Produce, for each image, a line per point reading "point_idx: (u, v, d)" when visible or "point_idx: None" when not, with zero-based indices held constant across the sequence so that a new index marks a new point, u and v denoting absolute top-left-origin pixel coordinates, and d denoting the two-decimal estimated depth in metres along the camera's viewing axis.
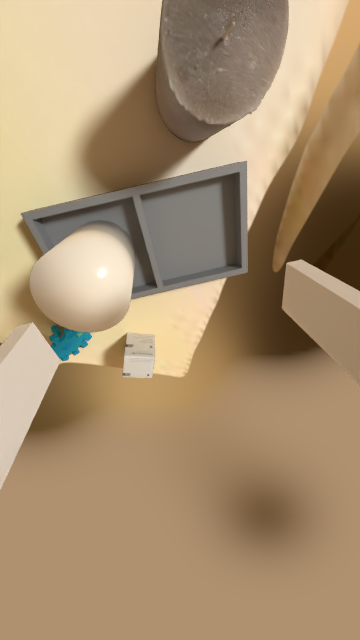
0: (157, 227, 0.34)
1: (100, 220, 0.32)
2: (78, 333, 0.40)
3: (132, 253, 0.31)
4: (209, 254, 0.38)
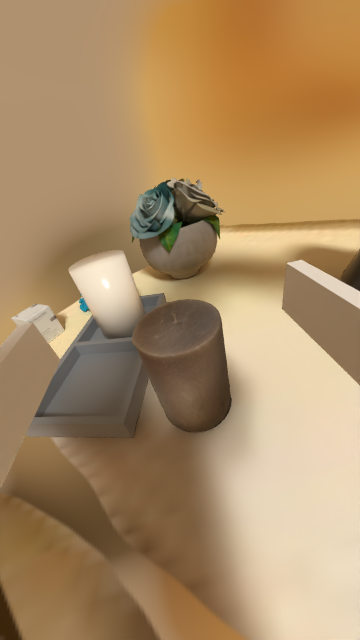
0: (120, 357, 0.39)
1: None
2: None
3: (110, 322, 0.40)
4: (69, 395, 0.34)
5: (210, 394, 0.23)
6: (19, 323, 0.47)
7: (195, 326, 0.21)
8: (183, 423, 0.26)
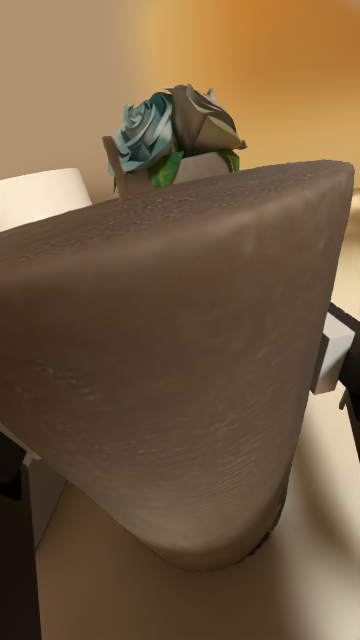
0: None
1: None
2: None
3: None
4: None
5: (259, 500, 0.06)
6: None
7: (207, 186, 0.04)
8: (159, 553, 0.08)
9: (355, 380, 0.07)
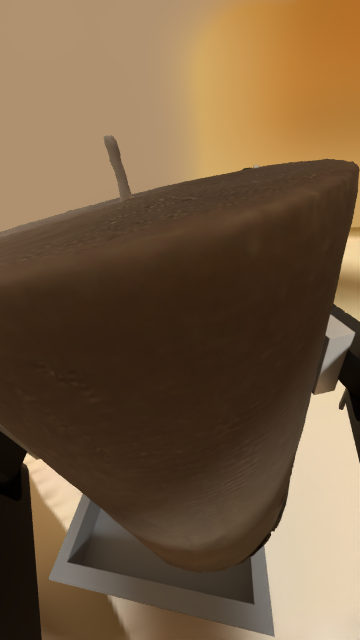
0: None
1: None
2: None
3: None
4: None
5: (261, 502, 0.06)
6: None
7: (209, 185, 0.04)
8: (159, 554, 0.08)
9: (355, 380, 0.07)
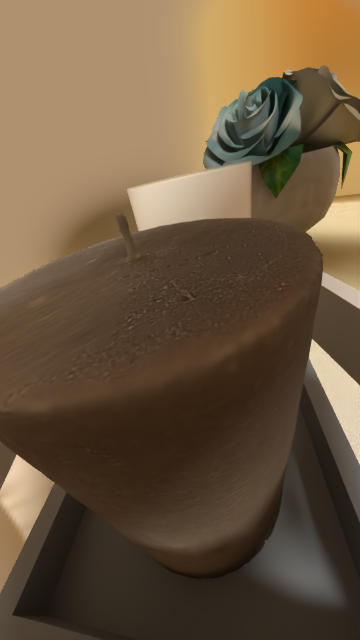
0: None
1: None
2: None
3: None
4: None
5: (252, 520, 0.07)
6: None
7: (204, 261, 0.05)
8: (162, 563, 0.09)
9: None
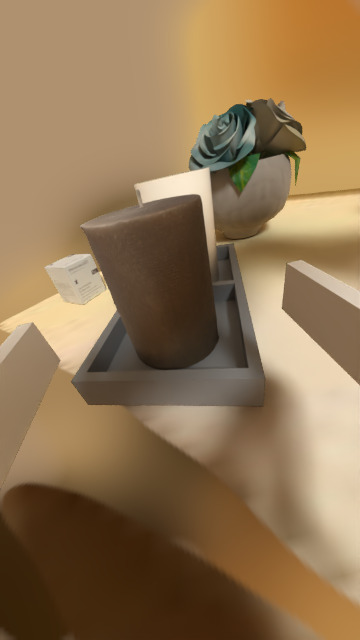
0: None
1: (218, 277, 0.34)
2: None
3: None
4: None
5: (186, 307, 0.17)
6: (55, 273, 0.37)
7: (165, 204, 0.16)
8: (154, 355, 0.20)
9: None
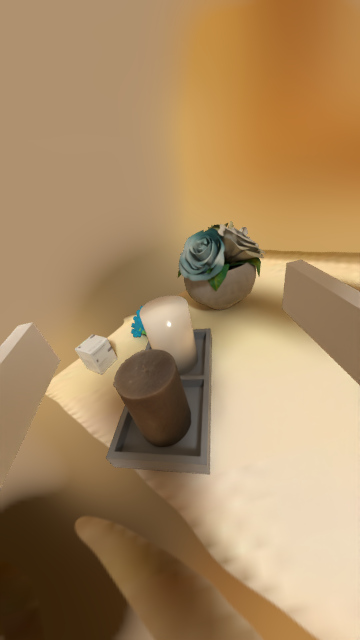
0: None
1: (196, 361, 0.50)
2: (141, 328, 0.61)
3: None
4: None
5: (169, 421, 0.32)
6: (82, 354, 0.52)
7: (157, 375, 0.31)
8: (151, 440, 0.35)
9: None
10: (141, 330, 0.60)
